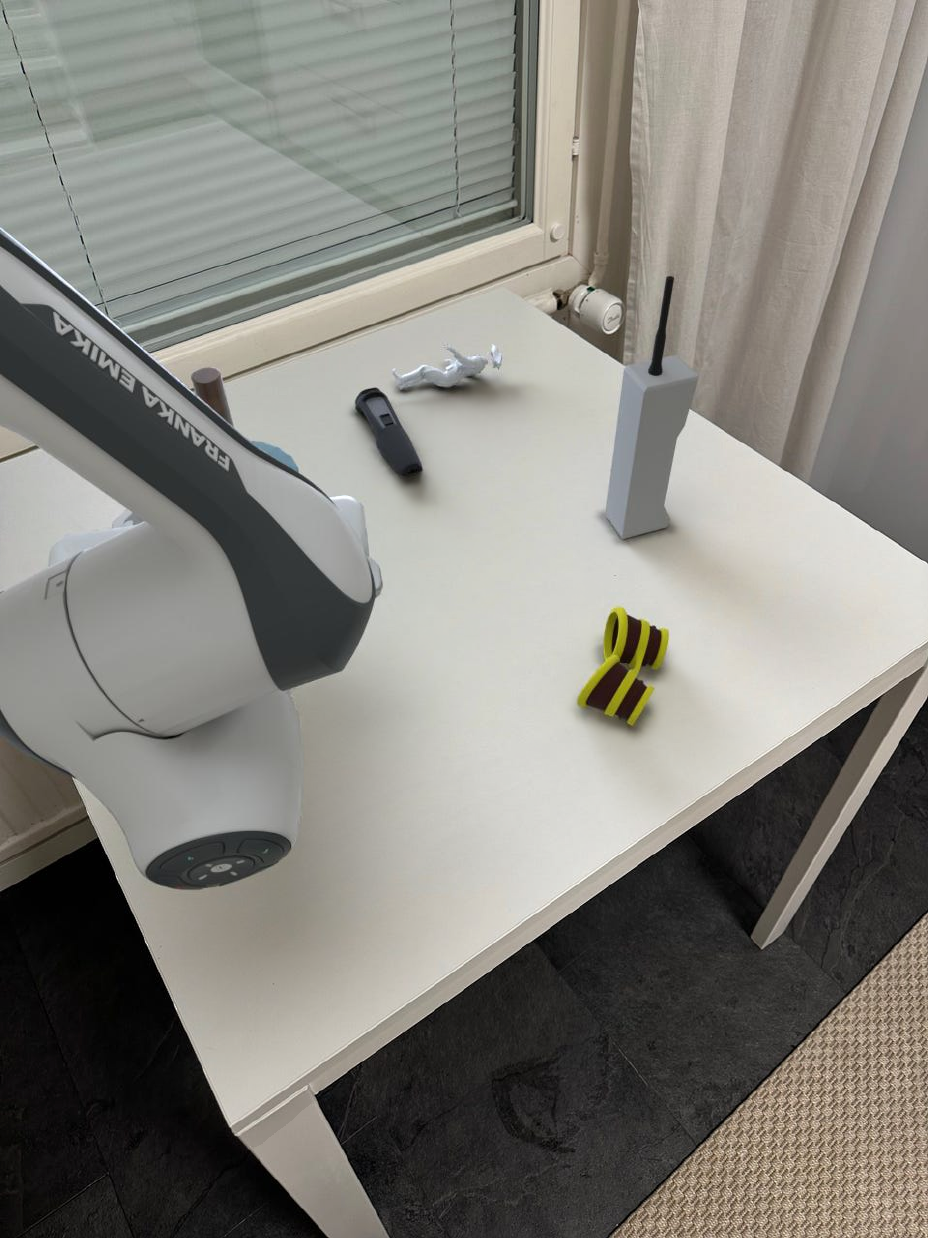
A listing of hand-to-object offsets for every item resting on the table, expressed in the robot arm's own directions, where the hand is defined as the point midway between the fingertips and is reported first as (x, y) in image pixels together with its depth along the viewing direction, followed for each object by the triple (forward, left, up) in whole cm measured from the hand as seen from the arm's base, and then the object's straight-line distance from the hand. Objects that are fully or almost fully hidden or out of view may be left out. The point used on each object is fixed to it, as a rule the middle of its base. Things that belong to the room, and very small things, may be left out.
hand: (214, 488), depth 63 cm
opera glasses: (+25, -17, -18) cm, 35 cm away
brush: (+3, +9, -16) cm, 19 cm away
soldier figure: (+31, +29, -18) cm, 46 cm away
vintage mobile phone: (+37, -1, -18) cm, 41 cm away
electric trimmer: (+21, +22, -18) cm, 35 cm away
